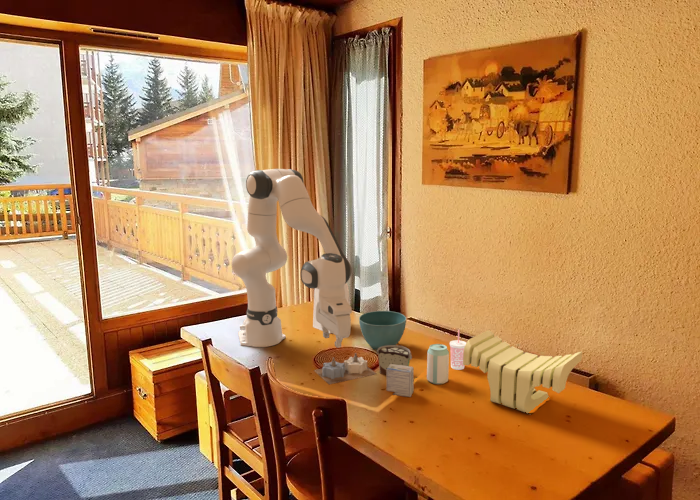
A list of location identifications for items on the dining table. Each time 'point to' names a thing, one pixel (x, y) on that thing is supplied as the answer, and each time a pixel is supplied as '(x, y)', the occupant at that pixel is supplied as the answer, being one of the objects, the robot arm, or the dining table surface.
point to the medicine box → (400, 380)
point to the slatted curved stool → (517, 371)
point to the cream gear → (355, 365)
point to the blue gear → (333, 370)
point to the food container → (393, 356)
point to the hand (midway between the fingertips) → (332, 342)
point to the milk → (316, 300)
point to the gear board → (346, 374)
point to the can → (437, 364)
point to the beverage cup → (457, 353)
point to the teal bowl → (382, 328)
